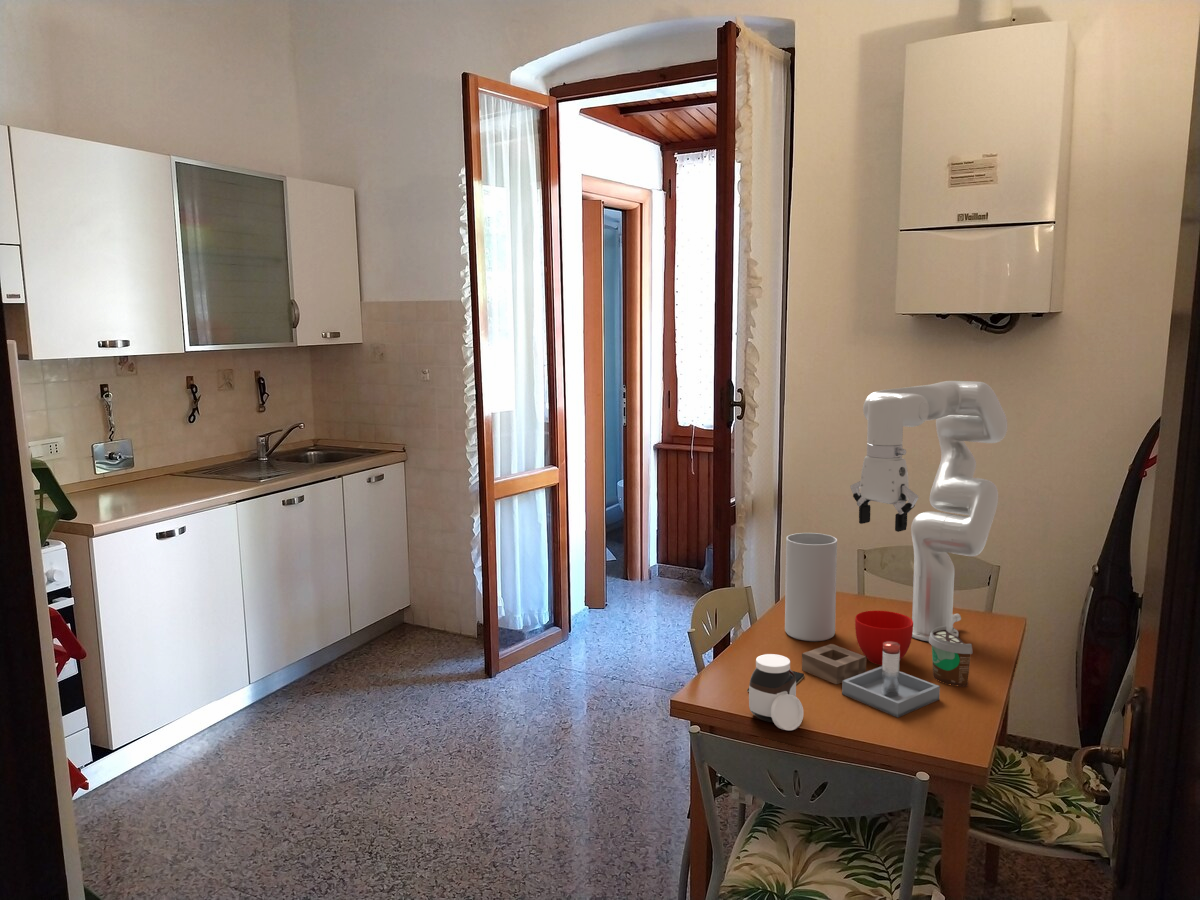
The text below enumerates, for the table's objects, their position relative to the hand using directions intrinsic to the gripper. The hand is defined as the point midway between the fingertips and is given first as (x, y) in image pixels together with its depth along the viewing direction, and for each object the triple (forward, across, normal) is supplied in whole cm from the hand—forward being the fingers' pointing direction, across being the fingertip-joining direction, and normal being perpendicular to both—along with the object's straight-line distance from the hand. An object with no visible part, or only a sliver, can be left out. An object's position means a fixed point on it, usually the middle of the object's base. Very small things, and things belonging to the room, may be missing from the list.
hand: (882, 526), depth 193 cm
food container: (+33, -13, -6) cm, 36 cm away
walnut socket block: (+33, +4, +11) cm, 35 cm away
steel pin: (+32, -12, +12) cm, 36 cm away
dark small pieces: (+34, +7, +26) cm, 43 cm away
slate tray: (+33, -12, +12) cm, 37 cm away
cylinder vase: (+33, +24, -4) cm, 41 cm away
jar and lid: (+33, -5, +38) cm, 51 cm away
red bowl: (+33, +2, -6) cm, 34 cm away
